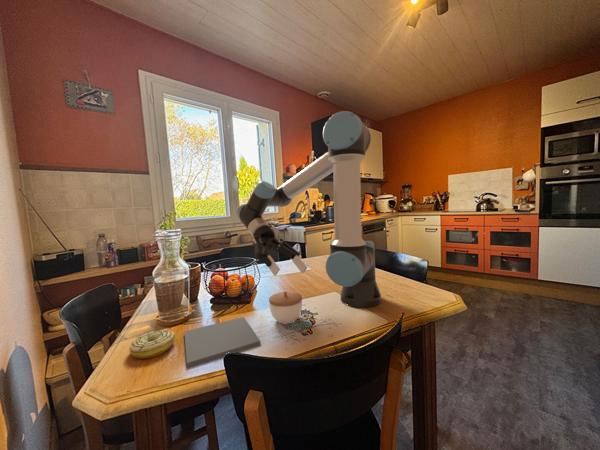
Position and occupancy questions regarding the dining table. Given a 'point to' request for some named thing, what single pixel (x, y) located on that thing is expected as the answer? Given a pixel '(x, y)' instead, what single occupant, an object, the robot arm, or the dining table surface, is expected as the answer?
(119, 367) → the dining table surface
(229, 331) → the mat
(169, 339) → the decorated donut
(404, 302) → the dining table surface
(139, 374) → the dining table surface
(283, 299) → the lidded jar
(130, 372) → the dining table surface
